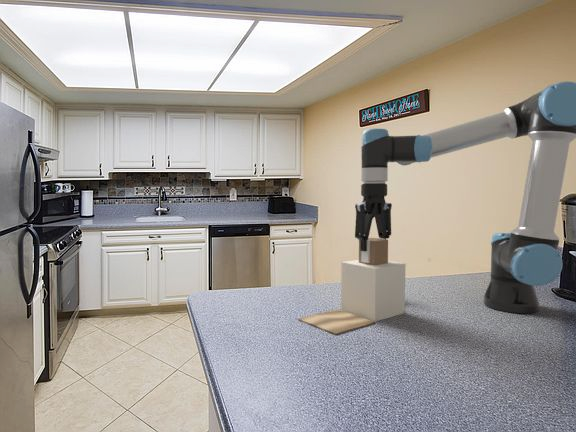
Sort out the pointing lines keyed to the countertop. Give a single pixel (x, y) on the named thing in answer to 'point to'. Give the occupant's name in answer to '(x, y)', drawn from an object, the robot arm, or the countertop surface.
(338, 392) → the countertop surface
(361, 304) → the cover
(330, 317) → the plate
